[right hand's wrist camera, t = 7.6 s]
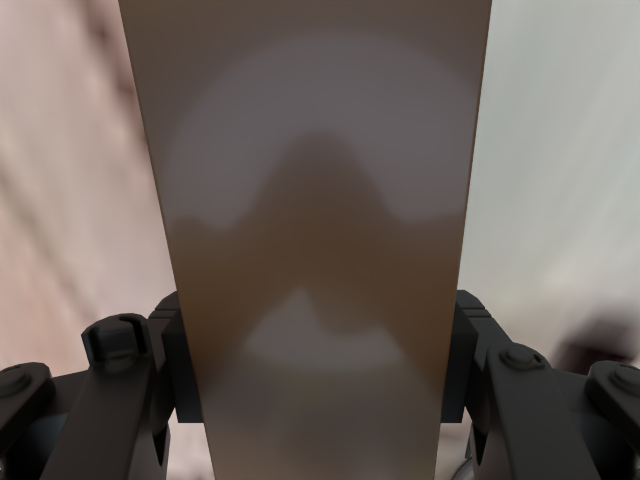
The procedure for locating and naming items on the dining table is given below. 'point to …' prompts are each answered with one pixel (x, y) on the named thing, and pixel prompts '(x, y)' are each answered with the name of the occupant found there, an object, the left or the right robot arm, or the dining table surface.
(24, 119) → the dining table surface
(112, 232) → the dining table surface
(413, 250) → the post
